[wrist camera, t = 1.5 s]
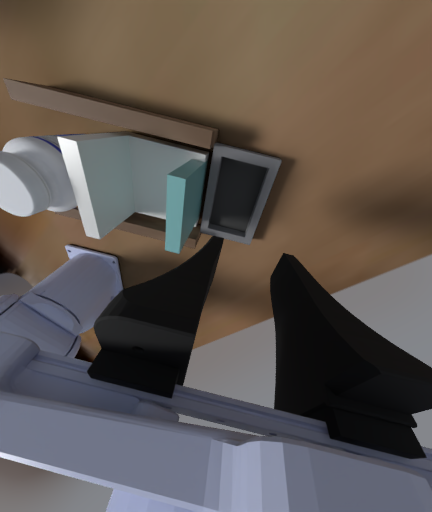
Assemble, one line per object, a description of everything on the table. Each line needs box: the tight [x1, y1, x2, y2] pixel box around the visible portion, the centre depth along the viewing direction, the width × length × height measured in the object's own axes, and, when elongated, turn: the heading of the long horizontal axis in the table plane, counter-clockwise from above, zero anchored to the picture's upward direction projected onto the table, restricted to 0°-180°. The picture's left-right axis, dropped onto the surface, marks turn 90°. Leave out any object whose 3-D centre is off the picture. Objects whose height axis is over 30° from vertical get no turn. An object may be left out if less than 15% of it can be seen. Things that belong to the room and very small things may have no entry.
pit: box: [200, 142, 282, 245], centre depth 19 cm, size 9×6×2 cm, turn 169°
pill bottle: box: [0, 134, 83, 217], centre depth 16 cm, size 5×5×10 cm
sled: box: [57, 131, 209, 254], centre depth 16 cm, size 7×8×8 cm
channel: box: [3, 78, 219, 249], centre depth 18 cm, size 11×16×4 cm
